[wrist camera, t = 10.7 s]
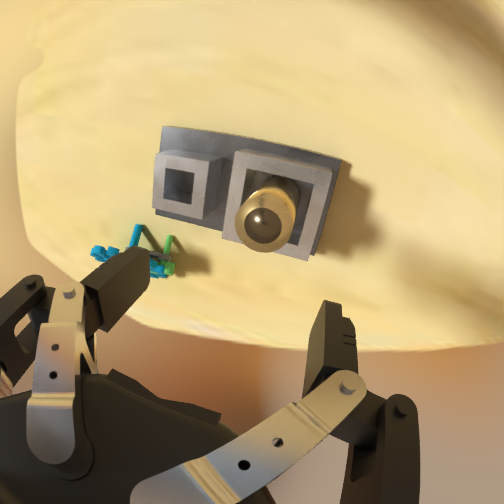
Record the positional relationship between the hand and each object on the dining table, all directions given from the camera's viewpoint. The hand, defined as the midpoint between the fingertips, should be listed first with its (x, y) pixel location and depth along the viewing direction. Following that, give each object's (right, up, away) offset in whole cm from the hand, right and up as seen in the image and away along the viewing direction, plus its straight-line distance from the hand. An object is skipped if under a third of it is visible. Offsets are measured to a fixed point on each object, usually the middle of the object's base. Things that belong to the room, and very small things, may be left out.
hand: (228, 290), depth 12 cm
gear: (-12, +2, +22) cm, 26 cm away
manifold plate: (0, +8, +16) cm, 18 cm away
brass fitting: (+4, +7, +14) cm, 16 cm away
